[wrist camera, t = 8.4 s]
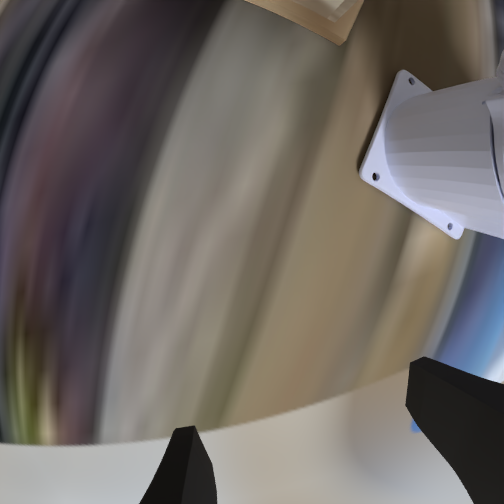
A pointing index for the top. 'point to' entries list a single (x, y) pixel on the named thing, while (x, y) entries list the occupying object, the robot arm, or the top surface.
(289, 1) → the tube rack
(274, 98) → the top surface
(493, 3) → the top surface
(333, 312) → the top surface
